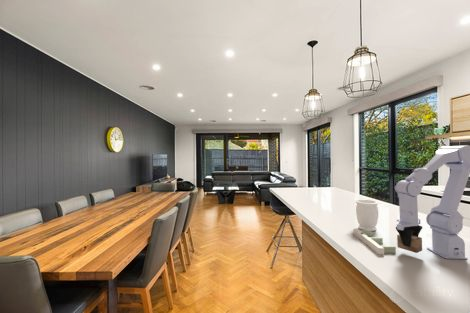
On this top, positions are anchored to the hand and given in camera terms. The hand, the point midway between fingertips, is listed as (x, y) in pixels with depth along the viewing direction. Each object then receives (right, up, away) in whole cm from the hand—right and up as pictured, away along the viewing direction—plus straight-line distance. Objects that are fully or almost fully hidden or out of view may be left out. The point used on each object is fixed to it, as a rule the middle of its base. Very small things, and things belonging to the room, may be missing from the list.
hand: (409, 244), depth 87 cm
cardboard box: (0, -2, 0) cm, 2 cm away
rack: (-6, -4, +13) cm, 15 cm away
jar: (+3, -5, +32) cm, 32 cm away
